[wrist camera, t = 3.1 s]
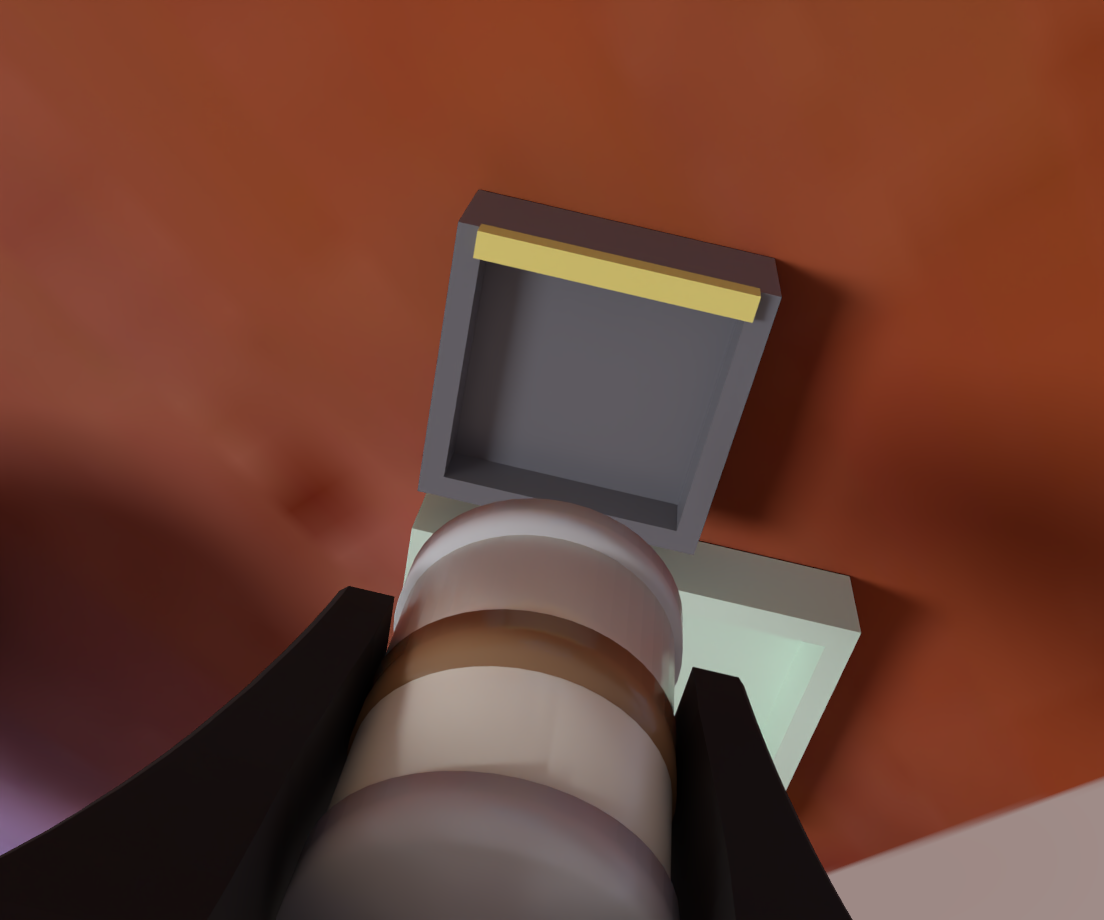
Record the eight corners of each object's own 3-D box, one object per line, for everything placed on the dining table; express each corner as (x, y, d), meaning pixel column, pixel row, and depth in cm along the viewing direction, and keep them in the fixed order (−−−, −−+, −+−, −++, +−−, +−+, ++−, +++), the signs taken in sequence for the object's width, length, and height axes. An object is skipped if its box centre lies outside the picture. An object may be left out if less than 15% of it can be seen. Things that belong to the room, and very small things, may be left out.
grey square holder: (774, 257, 20) (783, 302, 18) (694, 502, 23) (693, 562, 21) (478, 189, 20) (455, 225, 18) (437, 443, 23) (415, 497, 21)
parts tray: (849, 576, 24) (861, 632, 22) (748, 799, 28) (751, 861, 26) (432, 479, 24) (412, 527, 22) (394, 716, 28) (374, 773, 26)
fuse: (717, 537, 14) (731, 901, 9) (644, 741, 16) (623, 1121, 11) (424, 469, 14) (285, 797, 9) (391, 682, 16) (264, 1039, 11)
